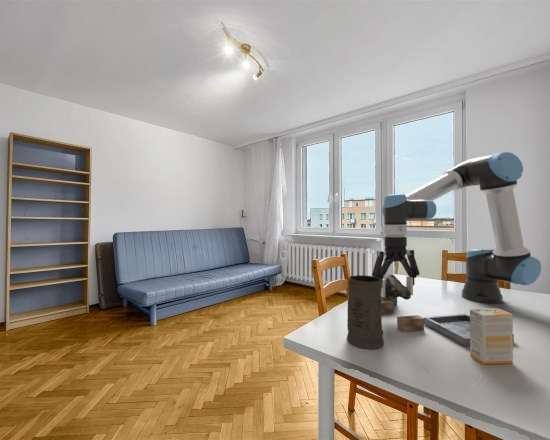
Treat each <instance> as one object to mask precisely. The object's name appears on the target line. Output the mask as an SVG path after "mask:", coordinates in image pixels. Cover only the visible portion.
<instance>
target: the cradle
mask: <svg viewBox="0 0 550 440" xmlns="http://www.w3.org/2000/svg"><path fill="white" fill-rule="evenodd" d="M390 313H395V308H394V302H392V301H390V300H384V301H381V314H390ZM396 317H397V318H396V319H397V321H396V328H397V330H399V331H401V332H402V333H407V332H416V331H417V332H418V331H419V332H420V331H425V324H424V317H422V316H420V315H419V314H416V315H402V316H396Z"/></svg>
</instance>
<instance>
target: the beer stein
mask: <svg viewBox="0 0 550 440" xmlns="http://www.w3.org/2000/svg"><path fill="white" fill-rule="evenodd" d="M347 285H348V297H347V322H346V323H347V335H346V340H347V342H348V343H350V344H351V345H352V346H354V347H356V348H360V349H365V350H375V349H380V348H382V347H383V346H384V345H385V343H384V342H385V341H384V338H383V335H384V331H383V323H382V320H383V319H382V313H381V288H382V280H381V279H380V278H377V277H373V276H372V275H360V274H359V275H351V276H349V277H348V282H347Z"/></svg>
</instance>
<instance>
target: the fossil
mask: <svg viewBox="0 0 550 440" xmlns="http://www.w3.org/2000/svg"><path fill="white" fill-rule="evenodd" d="M385 278H386V280H385V297H384V298H385V299H388V298H391V297H393V298H396V297H397V298H402V299H404V300H405V301H406V300H407V301H408V300H410V299H411V298H412V295H411V294H410V292H409V290H408V289H407V288H406V285H404V284H402V282H401V281H400V280H399V279H398V278H397V277H396V276H395V274H388V275H387V276H386V277H385Z"/></svg>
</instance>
